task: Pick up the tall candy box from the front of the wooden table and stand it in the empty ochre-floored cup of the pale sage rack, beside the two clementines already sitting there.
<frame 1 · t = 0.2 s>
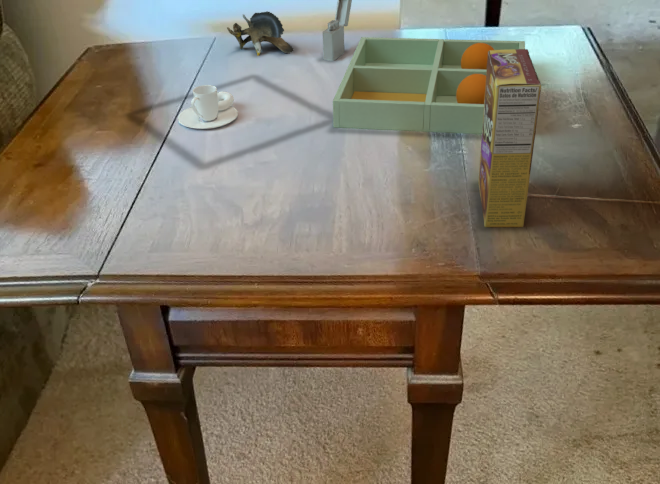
lighter: (338, 55, 119), on the table
candy box: (497, 208, 81), on the table
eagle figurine: (263, 52, 121), on the table
clementine a: (477, 79, 107), point 1 cm above the table, touching rack
clementine b: (474, 113, 98), point 1 cm above the table, touching rack
teacup and saucer: (231, 119, 102), on the table
rack: (433, 98, 104), on the table
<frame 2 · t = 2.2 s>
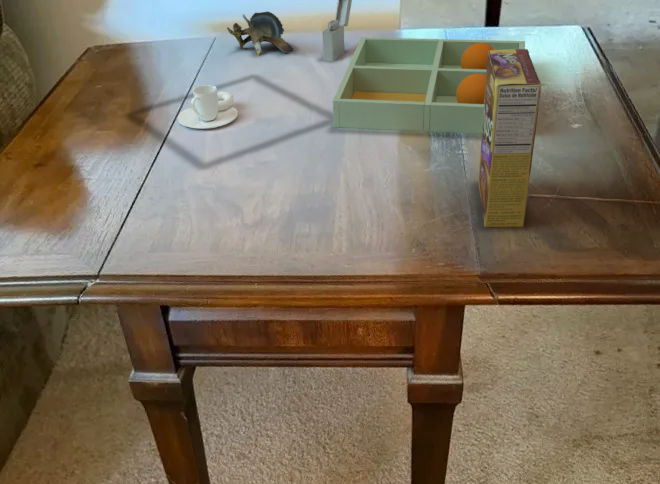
nothing on the table moved.
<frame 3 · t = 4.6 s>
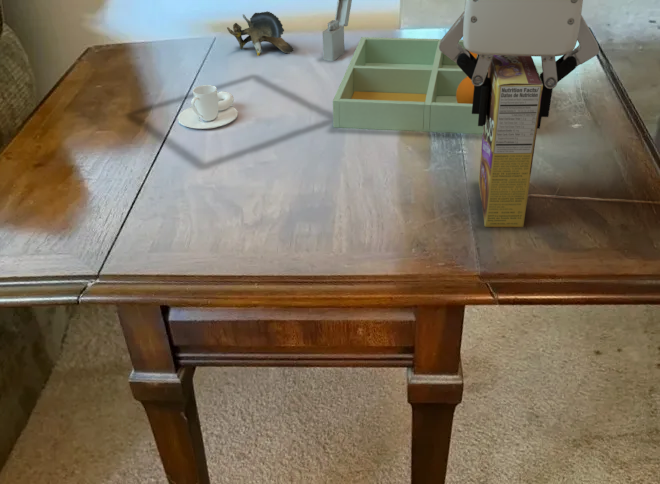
hand: (508, 119, 75), 10 cm above the table, tool pointing down, fingers closed on candy box, 4 cm apart
candy box: (498, 208, 81), on the table, touching gripper
everything else where it was.
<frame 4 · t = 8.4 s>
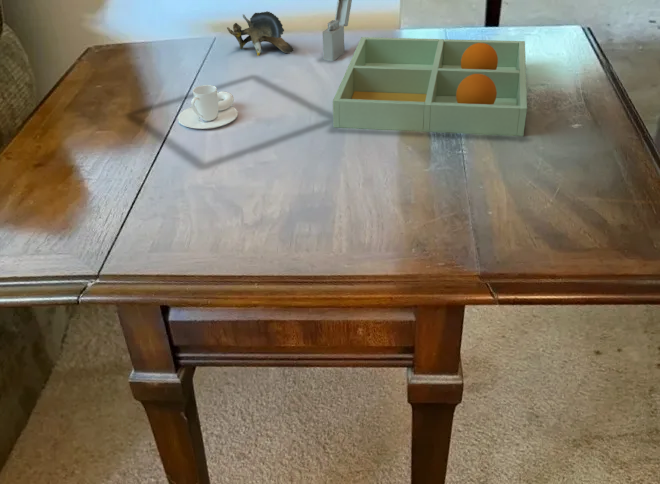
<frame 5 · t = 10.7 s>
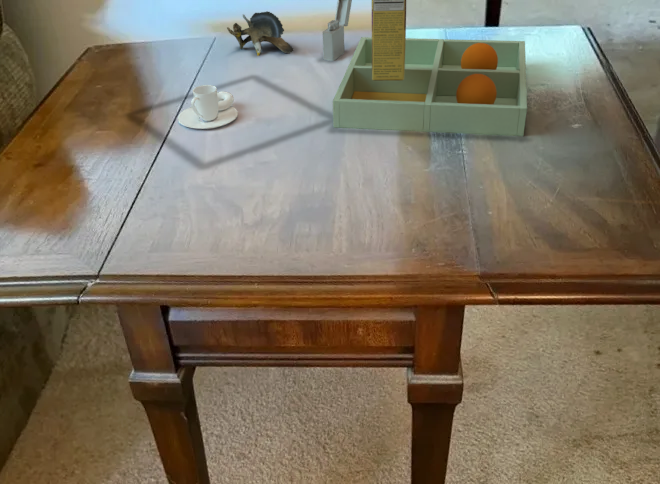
candy box: (387, 69, 97), point 6 cm above the table, touching gripper
everything else where it was.
when the fingers open (11 cm above the table, at t = 12.4 s): candy box stays where it is, resting on rack.
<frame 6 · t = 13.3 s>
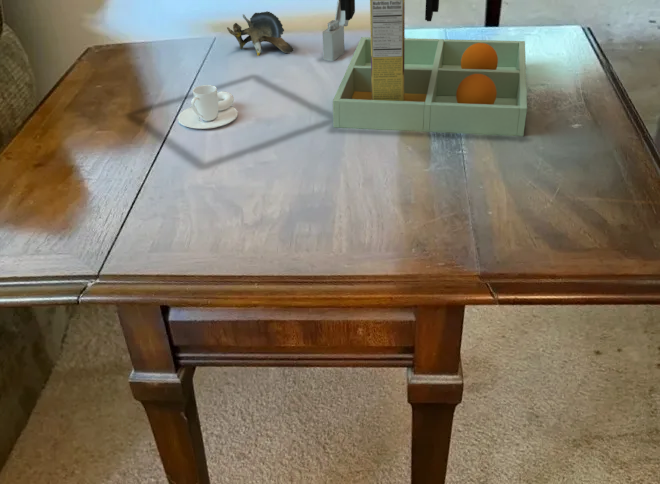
hand: (389, 17, 93), 12 cm above the table, tool pointing down, fingers open, 9 cm apart
candy box: (387, 109, 100), point 1 cm above the table, touching rack
everything else where it was.
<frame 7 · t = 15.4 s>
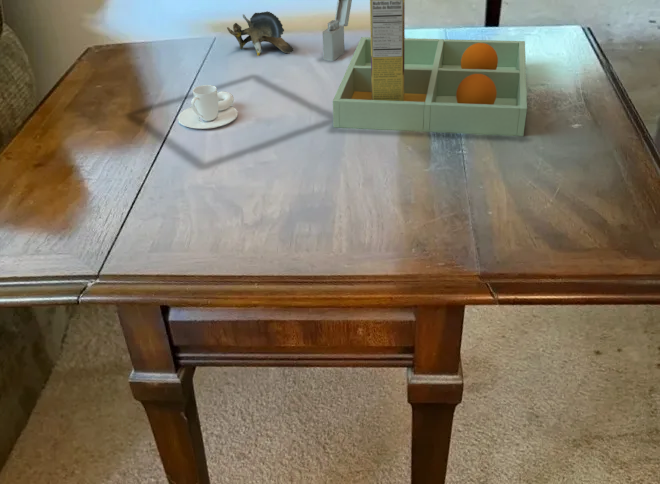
nothing on the table moved.
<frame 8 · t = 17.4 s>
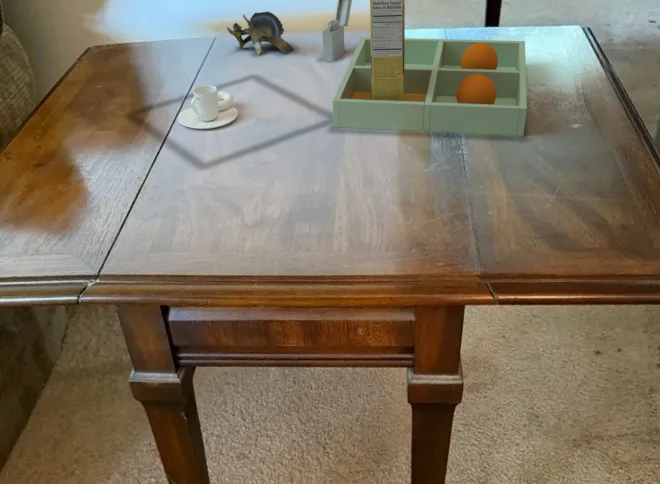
nothing on the table moved.
at the end: candy box inside the target area in the rack (0.1 cm from its centre), point 0.6 cm above the rack's base; candy box tilted 0°; the gripper is holding nothing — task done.
